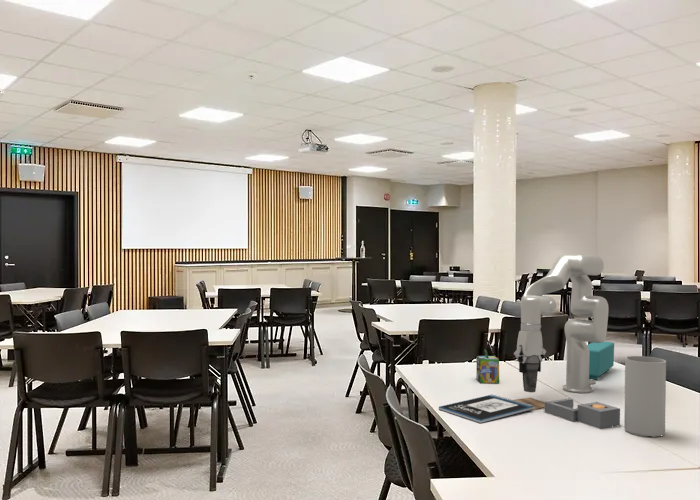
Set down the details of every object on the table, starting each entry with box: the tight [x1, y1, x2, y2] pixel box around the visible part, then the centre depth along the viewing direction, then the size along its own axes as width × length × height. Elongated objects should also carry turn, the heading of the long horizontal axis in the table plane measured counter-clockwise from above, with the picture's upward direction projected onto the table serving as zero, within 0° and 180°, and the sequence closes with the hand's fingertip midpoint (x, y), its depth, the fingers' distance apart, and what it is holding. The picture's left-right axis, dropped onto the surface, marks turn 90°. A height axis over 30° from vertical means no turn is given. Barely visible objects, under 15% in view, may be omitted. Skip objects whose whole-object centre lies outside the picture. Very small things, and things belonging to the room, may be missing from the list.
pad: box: [511, 397, 546, 412], centre depth 236 cm, size 14×14×1 cm
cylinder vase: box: [623, 355, 667, 437], centre depth 201 cm, size 12×12×25 cm
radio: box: [586, 340, 615, 380], centre depth 296 cm, size 34×10×15 cm, turn 144°
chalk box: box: [475, 349, 500, 384], centre depth 277 cm, size 9×9×15 cm
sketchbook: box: [438, 393, 533, 424], centre depth 226 cm, size 22×30×2 cm
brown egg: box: [593, 404, 605, 409], centre depth 211 cm, size 4×4×4 cm
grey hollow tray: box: [544, 398, 621, 430], centre depth 217 cm, size 13×24×6 cm, turn 27°
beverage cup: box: [522, 355, 540, 393], centre depth 236 cm, size 7×7×20 cm
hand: (529, 371), depth 236 cm, fingers closed on beverage cup, 7 cm apart
